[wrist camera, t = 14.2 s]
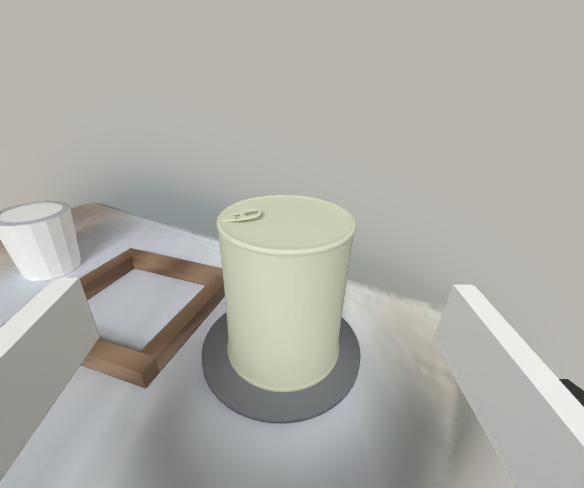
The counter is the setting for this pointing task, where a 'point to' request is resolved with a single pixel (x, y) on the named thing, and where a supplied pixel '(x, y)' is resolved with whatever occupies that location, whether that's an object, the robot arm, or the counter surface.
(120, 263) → the pocket
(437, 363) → the counter surface
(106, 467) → the counter surface
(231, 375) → the mat
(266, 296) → the can
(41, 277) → the shot glass
